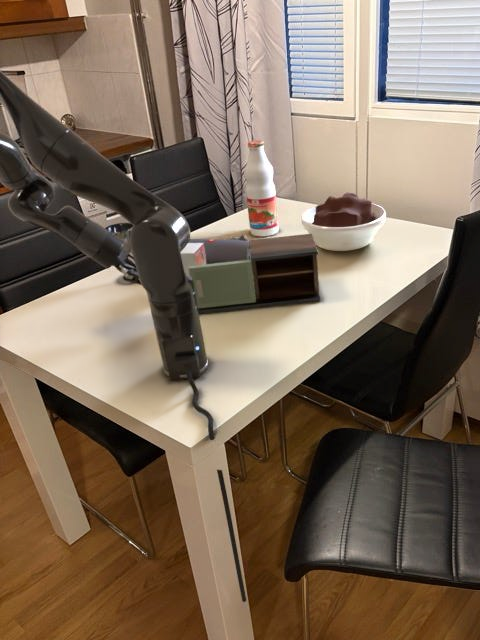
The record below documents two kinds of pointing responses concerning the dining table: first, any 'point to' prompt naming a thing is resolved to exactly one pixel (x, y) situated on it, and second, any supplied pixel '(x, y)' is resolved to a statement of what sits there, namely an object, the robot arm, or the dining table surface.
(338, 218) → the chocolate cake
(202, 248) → the small box
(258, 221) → the fruit juice
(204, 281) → the door
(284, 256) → the track
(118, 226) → the wine glass
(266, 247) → the box
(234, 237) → the animal figurine
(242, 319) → the dining table surface
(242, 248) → the bluetooth speaker
